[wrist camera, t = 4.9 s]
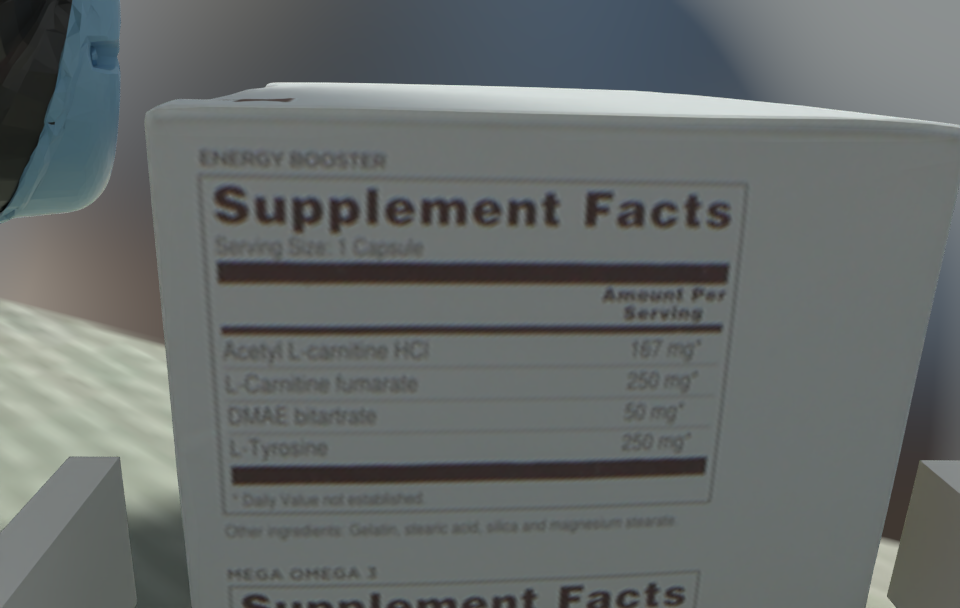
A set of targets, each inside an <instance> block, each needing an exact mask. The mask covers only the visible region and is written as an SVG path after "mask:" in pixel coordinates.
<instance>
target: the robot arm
mask: <svg viewBox="0 0 960 608" xmlns="http://www.w3.org/2000/svg"><path fill="white" fill-rule="evenodd" d="M120 24H121V18H120V0H0V224H1V223H4V222H6V221H8V220H10V219H12V218H20V217H30V216H40V215H49V214H59V213H67V212H72V211H77V210H80V209H83V208H85V207H87V206H88V205H90V204H91V203H93V202H94V201H95V200H96V199H97V198H98V197H99V196H100V194H101V193H102V192H103V191H104V189H105V187H106V185H107V183H108V181H109V178H110V175H111V171H112V168H113V163H114V157H115V151H116V143H117V134H118V122H119V108H120V107H119V106H120V68H119V62H118V59H117V55H118V53H119V34H120ZM887 597H888V598H889V599H890V601H891V602H892V603H893V604H894V605H895V607H896V608H960V461H940V460H939V461H938V460H937V461H935V460H933V461H932V460H927V461H926V460H920V462H919V467H918V471H917V475H916V479H915V483H914V487H913V491H912V495H911V499H910V504H909V508H908V512H907V516H906V520H905V524H904V528H903V532H902V537H901V540H900V545H899V549H898V553H897V557H896V561H895V565H894V569H893V573H892V577H891V582H890V586H889V590H888V594H887ZM136 604H137V594H136V586H135V578H134V570H133V561H132V553H131V545H130V537H129V529H128V521H127V512H126V504H125V496H124V488H123V480H122V472H121V463H120V457H69V458H68V459H67V460H66V461H65V462H64V463H63V464H62V465H61V466H60V468H59V469H58V470H57V471H56V472H55V473H54V474H53V475H52V476H51V477H50V479H49V480H48V481H47V482H46V483H45V484H44V485H43V486H42V487H41V488H40V490H39V491H38V492H37V493H36V494H35V495H34V496H33V497H32V498H31V499H30V501H29V502H28V503H27V504H26V505H25V506H24V507H23V508H22V509H21V510H20V512H19V513H18V514H17V515H16V516H15V517H14V518H13V519H12V520H11V521H10V523H9V524H8V525H7V526H6V527H5V528H4V529H3V530H2V531H1V532H0V608H135V606H136Z"/></svg>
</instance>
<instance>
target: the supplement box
mask: <svg viewBox="0 0 960 608" xmlns="http://www.w3.org/2000/svg"><path fill="white" fill-rule="evenodd" d="M144 123H145V134H146V145H147V156H148V167H149V178H150V189H151V201H152V211H153V222H154V233H155V242H156V243H155V244H156V254H157V264H158V275H159V285H160V296H161V306H162V316H163V326H164V338H165V348H166V358H167V369H168V379H169V390H170V400H171V411H172V422H173V433H174V444H175V455H176V466H177V477H178V486H179V495H180V504H181V513H182V522H183V532H184V541H185V550H186V559H187V569H188V578H189V587H190V597H191V606H192V608H865V607H866V603H867V598H868V593H869V588H870V584H871V579H872V574H873V570H874V565H875V561H876V557H877V553H878V548H879V544H880V540H881V536H882V531H883V526H884V522H885V518H886V513H887V509H888V505H889V500H890V496H891V491H892V486H893V482H894V477H895V473H896V469H897V464H898V460H899V455H900V450H901V446H902V441H903V436H904V432H905V427H906V423H907V418H908V413H909V409H910V404H911V400H912V395H913V390H914V386H915V381H916V376H917V371H918V367H919V363H920V357H921V353H922V349H923V344H924V339H925V335H926V330H927V326H928V321H929V317H930V312H931V308H932V304H933V300H934V295H935V291H936V286H937V282H938V278H939V273H940V269H941V264H942V259H943V256H944V251H945V247H946V242H947V238H948V234H949V229H950V225H951V220H952V216H953V212H954V207H955V203H956V199H957V194H958V190H959V186H960V126H959V125H955V124H948V123H939V122H932V121H924V120H916V119H908V118H898V117H891V116H883V115H874V114H865V113H858V112H850V111H840V110H833V109H824V108H815V107H808V106H800V105H789V104H779V103H769V102H758V101H748V100H738V99H727V98H717V97H707V96H696V95H682V94H669V93H656V92H642V91H623V90H593V89H592V90H591V89H562V88H534V87H500V86H499V87H498V86H459V85H416V84H414V85H413V84H370V83H270V84H267V86H266V87H265V88H260V89H250V90H245V91H242V92H238V93H235V94H232V95H228V96H224V97H219V98H214V99H210V100H199V99H198V100H197V99H176V100H172V101H169V102H166V103H163V104H161V105H158V106H156V107H154V108H153V109H151V110H150V111H148V112H146V116H145V121H144Z"/></svg>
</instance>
